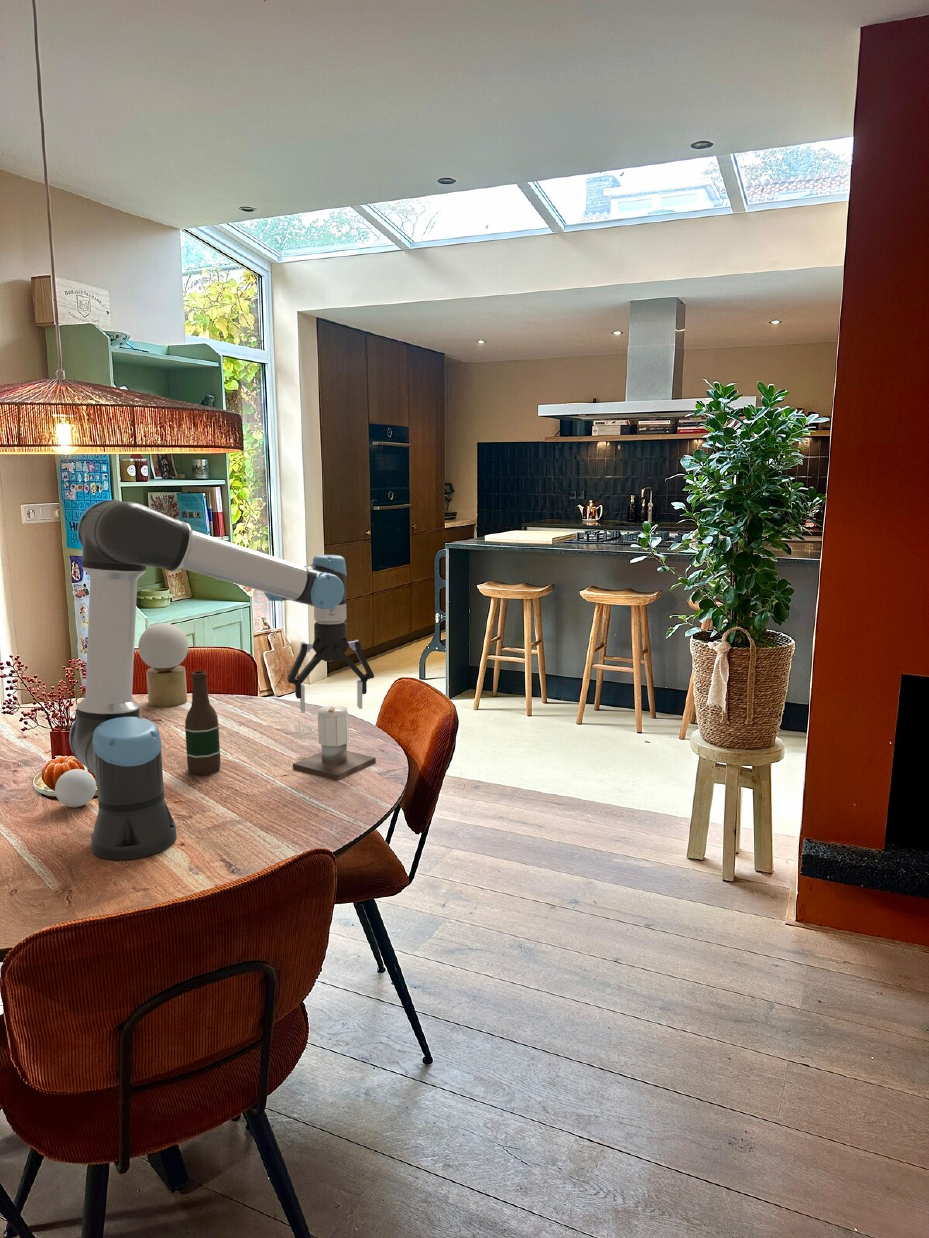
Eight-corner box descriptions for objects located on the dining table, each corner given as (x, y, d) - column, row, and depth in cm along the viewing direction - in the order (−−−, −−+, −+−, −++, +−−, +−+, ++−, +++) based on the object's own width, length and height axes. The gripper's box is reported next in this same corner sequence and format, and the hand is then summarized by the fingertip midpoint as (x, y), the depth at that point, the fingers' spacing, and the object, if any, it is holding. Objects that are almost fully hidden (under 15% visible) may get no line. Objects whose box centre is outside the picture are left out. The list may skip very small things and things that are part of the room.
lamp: (189, 709, 251) (184, 626, 246) (139, 712, 248) (133, 628, 243) (193, 696, 265) (188, 617, 261) (146, 698, 262) (140, 619, 258)
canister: (322, 736, 206) (321, 702, 204) (350, 737, 205) (349, 703, 204) (316, 745, 199) (315, 710, 197) (345, 746, 198) (344, 711, 197)
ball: (52, 815, 174) (48, 778, 173) (61, 800, 182) (58, 765, 181) (93, 811, 176) (90, 775, 175) (101, 797, 184) (98, 762, 182)
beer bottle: (211, 777, 195) (205, 676, 191) (181, 774, 197) (174, 675, 193) (227, 765, 203) (222, 668, 199) (197, 763, 205) (191, 667, 200)
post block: (337, 779, 194) (336, 733, 192) (292, 768, 201) (291, 724, 199) (375, 762, 205) (374, 718, 203) (332, 752, 213) (330, 709, 211)
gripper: (277, 626, 190) (279, 717, 193) (386, 622, 197) (386, 709, 201) (274, 620, 197) (276, 708, 200) (379, 616, 204) (379, 701, 208)
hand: (331, 709), depth 200 cm, fingers open, 13 cm apart
